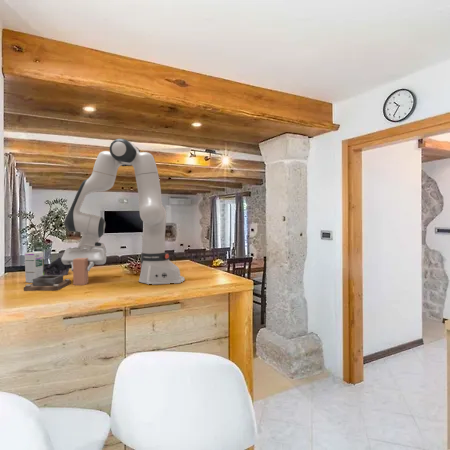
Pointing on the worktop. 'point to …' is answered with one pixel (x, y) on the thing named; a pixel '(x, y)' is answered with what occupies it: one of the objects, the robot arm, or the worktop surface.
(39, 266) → the syrup box
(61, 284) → the walnut base board
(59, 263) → the crystal cluster
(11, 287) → the worktop surface
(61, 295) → the worktop surface
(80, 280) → the terracotta tower block
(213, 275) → the worktop surface
